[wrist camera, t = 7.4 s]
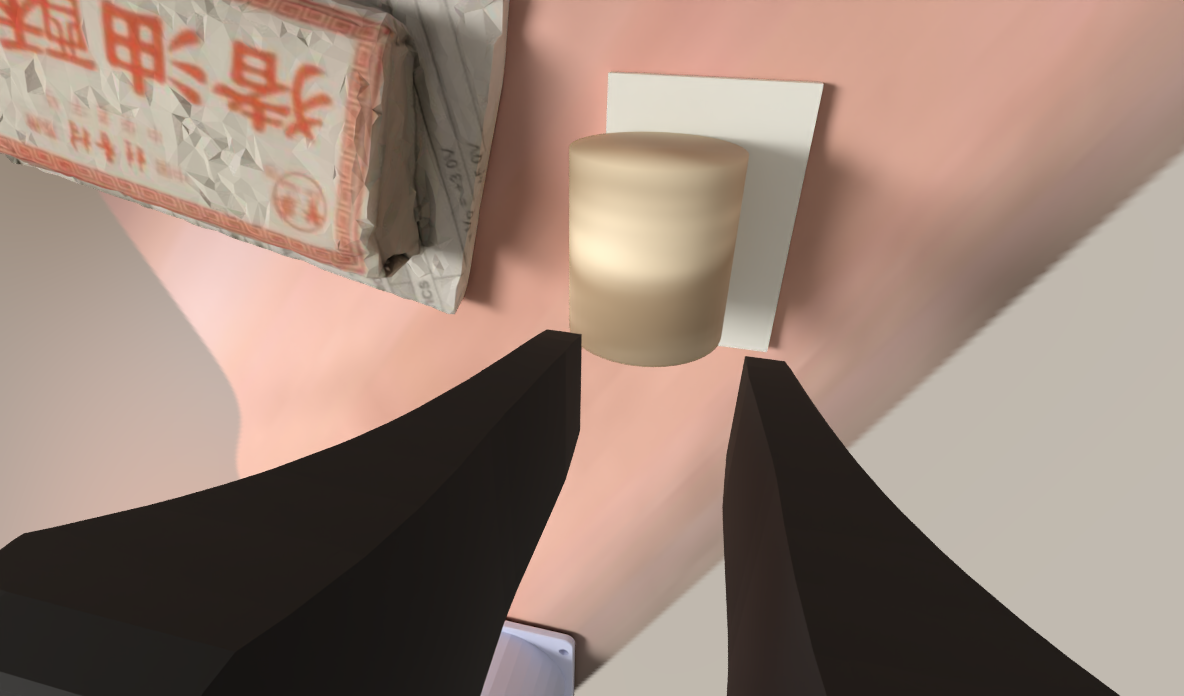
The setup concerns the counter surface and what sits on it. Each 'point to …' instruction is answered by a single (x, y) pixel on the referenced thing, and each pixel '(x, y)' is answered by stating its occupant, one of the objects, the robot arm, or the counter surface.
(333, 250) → the packaged product
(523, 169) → the counter surface
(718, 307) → the roller
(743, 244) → the felt mat
